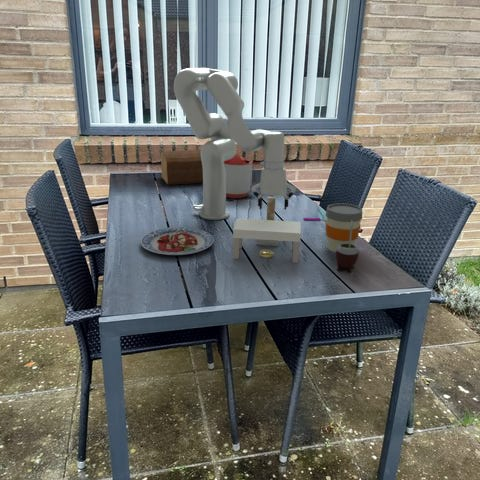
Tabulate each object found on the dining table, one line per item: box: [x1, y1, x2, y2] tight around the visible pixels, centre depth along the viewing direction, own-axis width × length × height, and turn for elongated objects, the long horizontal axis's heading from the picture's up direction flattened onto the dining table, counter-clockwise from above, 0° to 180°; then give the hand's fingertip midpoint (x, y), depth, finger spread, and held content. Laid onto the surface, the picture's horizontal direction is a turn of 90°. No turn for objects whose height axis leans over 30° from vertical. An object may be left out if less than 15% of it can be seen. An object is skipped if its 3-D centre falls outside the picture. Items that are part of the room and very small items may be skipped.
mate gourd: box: [335, 220, 359, 274], centre depth 149 cm, size 8×8×15 cm
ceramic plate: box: [140, 226, 214, 256], centre depth 167 cm, size 26×26×3 cm
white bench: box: [232, 217, 302, 264], centre depth 160 cm, size 22×11×10 cm, turn 84°
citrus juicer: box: [224, 153, 255, 199], centre depth 224 cm, size 16×17×20 cm
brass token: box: [258, 249, 275, 259], centre depth 161 cm, size 5×5×1 cm
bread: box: [160, 149, 203, 185], centre depth 250 cm, size 18×30×16 cm, turn 109°
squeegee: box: [302, 208, 327, 222], centre depth 195 cm, size 29×2×10 cm
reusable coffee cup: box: [325, 202, 363, 253], centre depth 165 cm, size 13×13×15 cm
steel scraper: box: [255, 196, 280, 247], centre depth 176 cm, size 8×21×12 cm, turn 174°
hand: (273, 208), depth 184 cm, fingers open, 9 cm apart
